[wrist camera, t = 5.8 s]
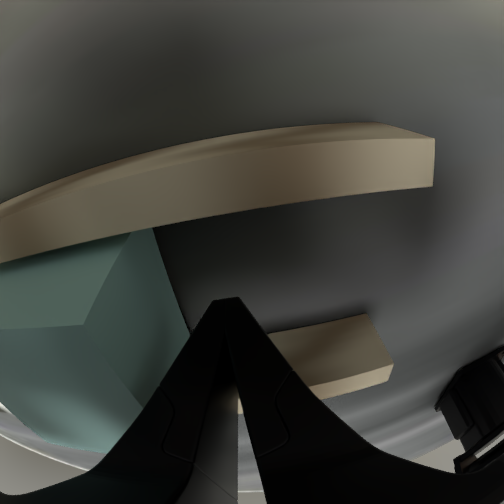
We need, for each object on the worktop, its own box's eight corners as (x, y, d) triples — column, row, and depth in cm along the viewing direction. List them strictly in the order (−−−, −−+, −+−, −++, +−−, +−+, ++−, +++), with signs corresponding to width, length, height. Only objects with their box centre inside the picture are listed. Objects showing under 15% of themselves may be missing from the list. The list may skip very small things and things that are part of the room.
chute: (376, 122, 8) (435, 138, 5) (363, 331, 13) (387, 380, 10) (-60, 235, 8) (-93, 266, 5) (17, 364, 12) (1, 401, 10)
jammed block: (146, 208, 8) (83, 324, 4) (193, 344, 11) (189, 458, 7) (13, 243, 8) (-60, 329, 4) (76, 353, 11) (46, 442, 7)
